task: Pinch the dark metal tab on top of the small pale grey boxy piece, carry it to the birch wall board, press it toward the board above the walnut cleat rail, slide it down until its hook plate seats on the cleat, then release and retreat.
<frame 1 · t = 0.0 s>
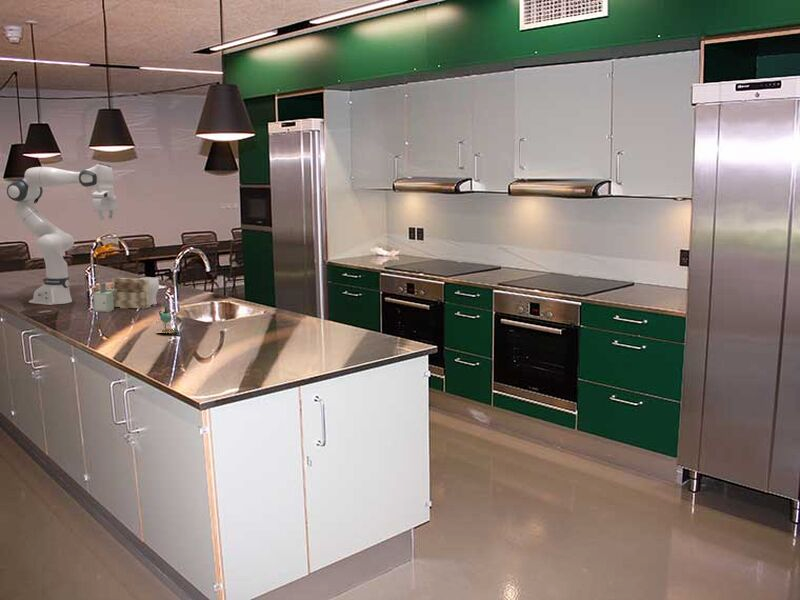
hand: (106, 219, 415), 48 cm above the countertop, fingers open, 8 cm apart
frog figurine: (167, 334, 357), on the countertop
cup: (149, 305, 427), on the countertop
pale grey boxy piece: (103, 310, 407), on the countertop
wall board: (131, 307, 418), on the countertop
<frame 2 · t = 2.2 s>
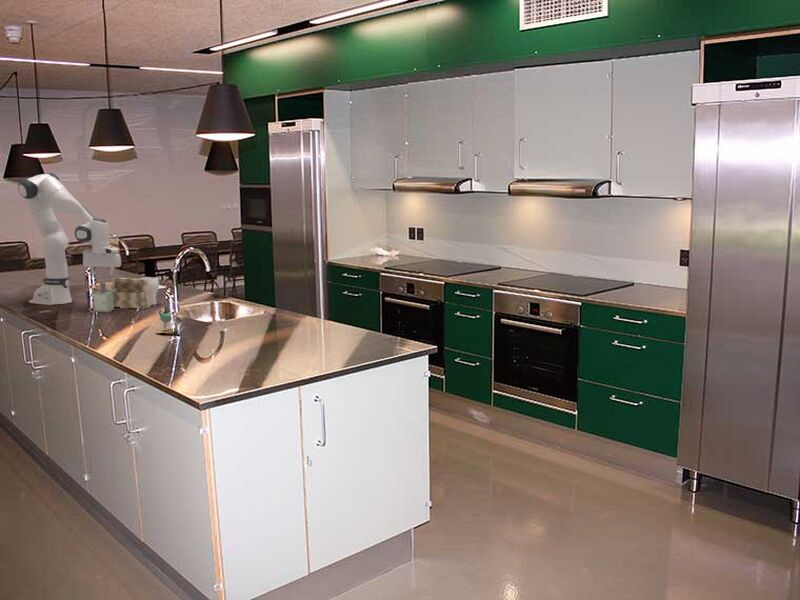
hand: (102, 275, 403), 19 cm above the countertop, fingers open, 8 cm apart
nothing on the countertop moved.
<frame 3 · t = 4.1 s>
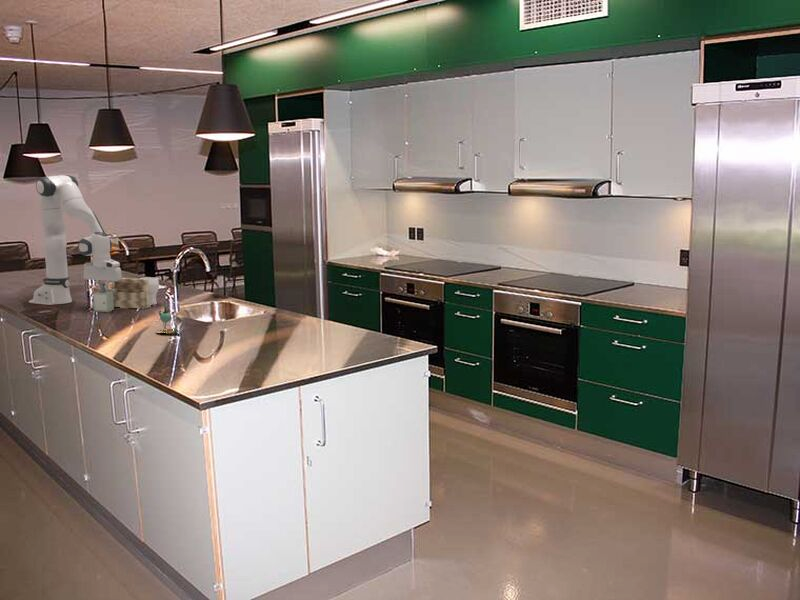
hand: (103, 288, 405), 12 cm above the countertop, fingers closed on pale grey boxy piece
pale grey boxy piece: (103, 310, 407), on the countertop, touching gripper
everything else where it was.
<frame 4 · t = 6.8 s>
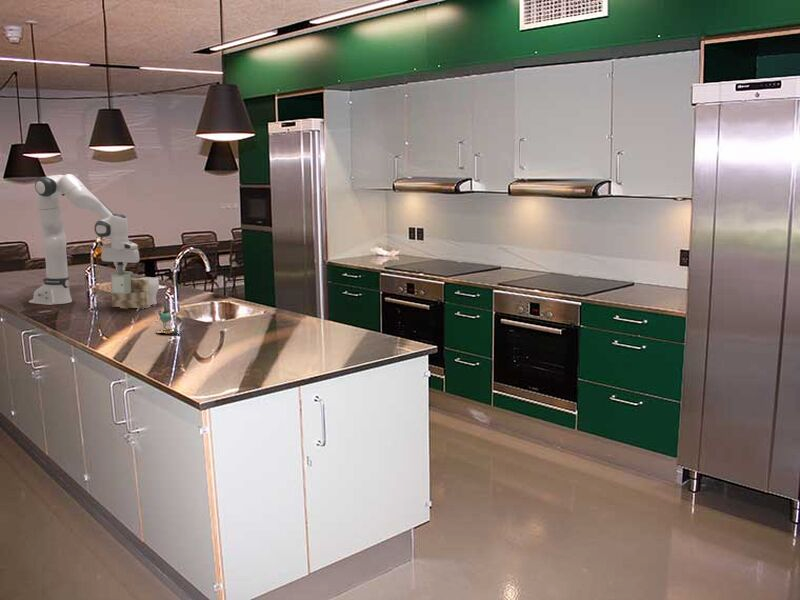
hand: (120, 270, 405), 22 cm above the countertop, fingers closed on pale grey boxy piece
pale grey boxy piece: (121, 292, 407), point 10 cm above the countertop, touching gripper
everything else where it was.
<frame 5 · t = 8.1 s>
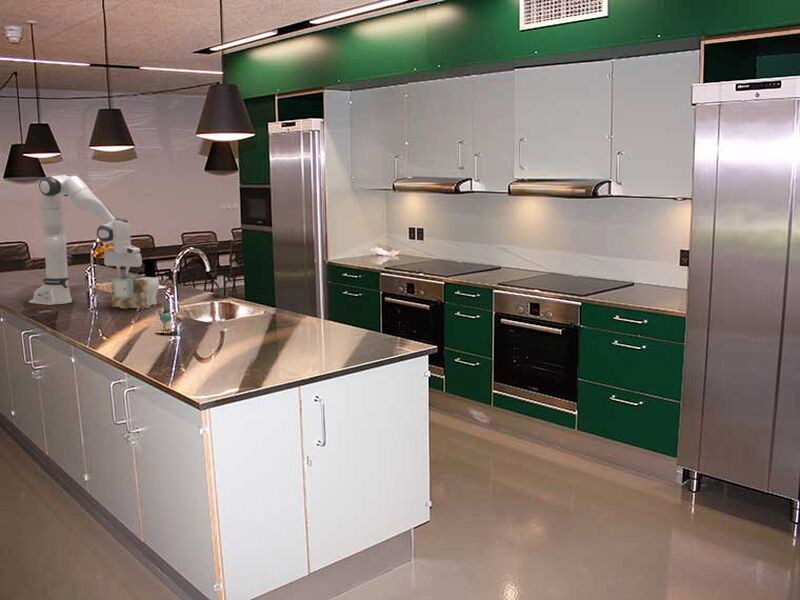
hand: (123, 274, 408), 19 cm above the countertop, fingers closed on pale grey boxy piece
pale grey boxy piece: (124, 296, 410), point 7 cm above the countertop, touching gripper
everything else where it was.
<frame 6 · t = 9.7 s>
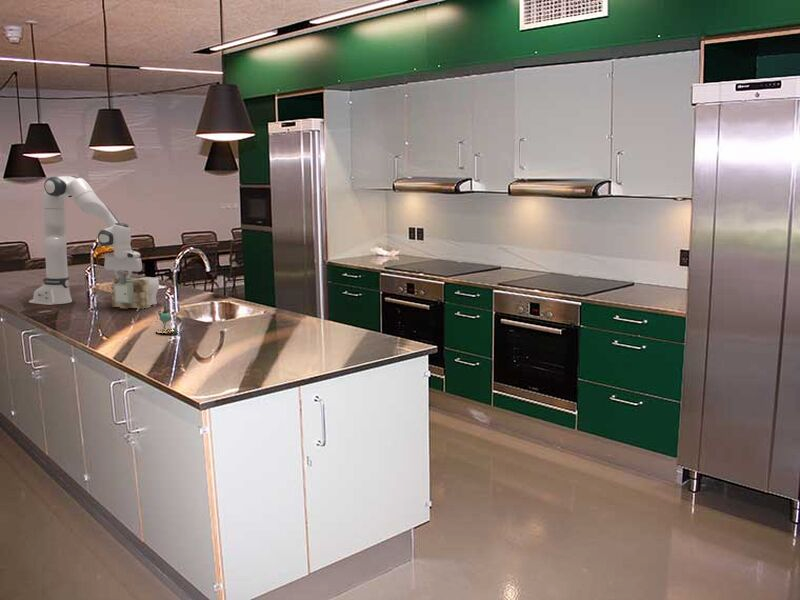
hand: (123, 279, 408), 17 cm above the countertop, fingers open, 4 cm apart
pale grey boxy piece: (124, 301, 411), point 4 cm above the countertop, touching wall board
everything else where it was.
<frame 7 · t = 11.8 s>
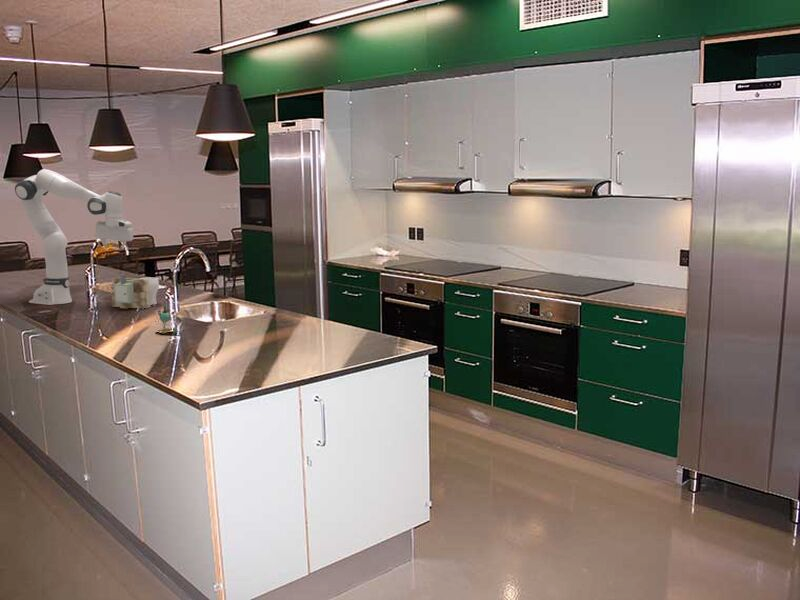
hand: (114, 248, 405), 33 cm above the countertop, fingers open, 8 cm apart
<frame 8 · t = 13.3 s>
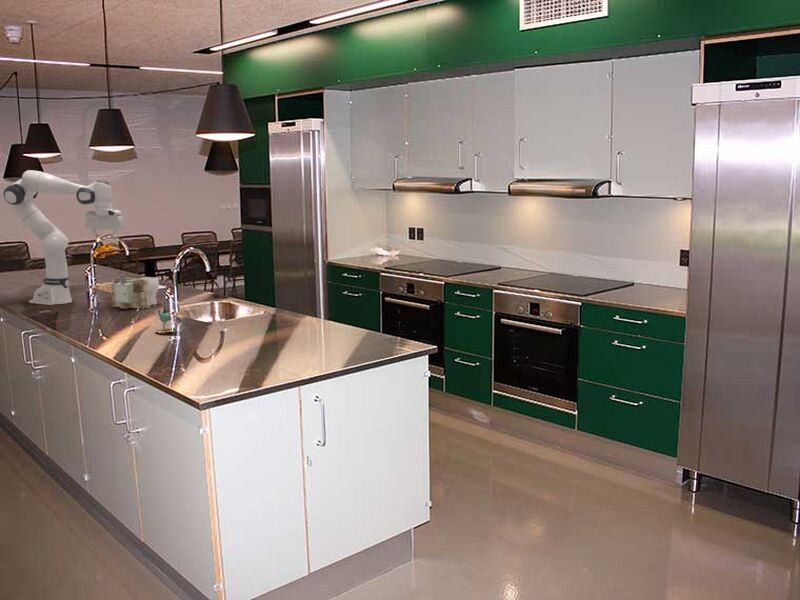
hand: (104, 237, 404), 39 cm above the countertop, fingers open, 8 cm apart
at the end: pale grey boxy piece inside the target area on the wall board (1.1 cm from its centre), point 4.4 cm above the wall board's base; pale grey boxy piece tilted 3°; pale grey boxy piece touching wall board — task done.
